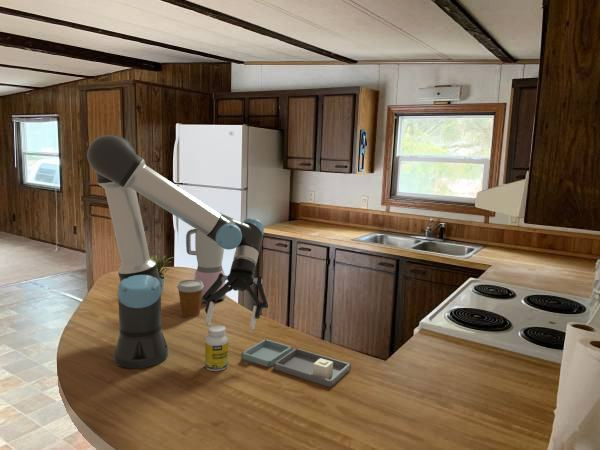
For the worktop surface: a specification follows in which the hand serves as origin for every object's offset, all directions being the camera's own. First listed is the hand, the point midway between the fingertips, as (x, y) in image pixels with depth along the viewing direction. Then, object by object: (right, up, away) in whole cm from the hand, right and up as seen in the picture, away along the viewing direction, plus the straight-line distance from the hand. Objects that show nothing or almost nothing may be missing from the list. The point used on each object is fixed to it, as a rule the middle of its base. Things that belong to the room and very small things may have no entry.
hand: (229, 326), depth 140 cm
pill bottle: (-3, -11, -4) cm, 12 cm away
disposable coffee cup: (-20, -3, +36) cm, 41 cm away
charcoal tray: (+24, -12, -5) cm, 27 cm away
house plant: (-38, +1, +59) cm, 70 cm away
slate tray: (+11, -10, +3) cm, 15 cm away
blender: (-17, -1, +53) cm, 56 cm away
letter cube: (+27, -12, -9) cm, 31 cm away
